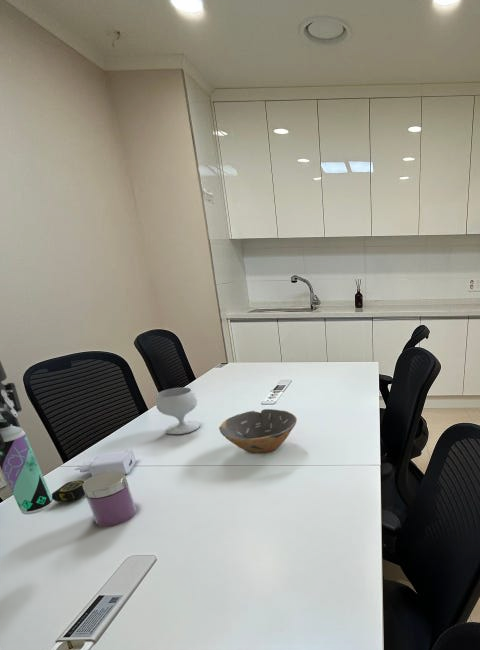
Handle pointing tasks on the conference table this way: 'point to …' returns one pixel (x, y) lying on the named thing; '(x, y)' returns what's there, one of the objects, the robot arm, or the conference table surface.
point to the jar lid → (104, 484)
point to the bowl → (258, 430)
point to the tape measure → (69, 491)
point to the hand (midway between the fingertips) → (7, 441)
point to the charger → (110, 463)
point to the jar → (113, 507)
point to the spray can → (23, 471)
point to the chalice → (177, 408)
